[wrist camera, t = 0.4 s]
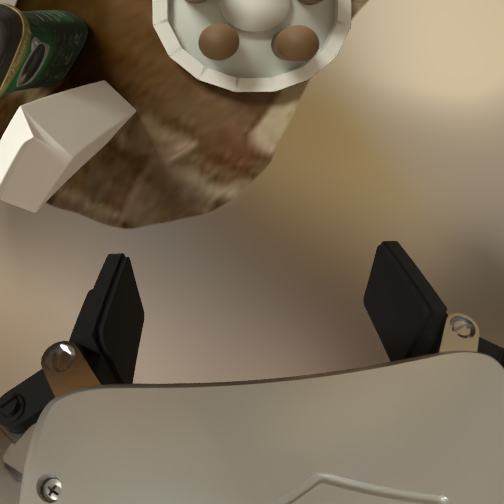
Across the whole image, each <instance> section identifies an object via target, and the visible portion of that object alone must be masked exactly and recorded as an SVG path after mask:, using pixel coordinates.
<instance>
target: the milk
mask: <svg viewBox="0 0 504 504" xmlns="http://www.w3.org/2000/svg"><path fill="white" fill-rule="evenodd" d="M135 112H136V109H135V108H133V107H132V106H131V105H130V104H129V103H128V102H127V101H126V100H125V99H124V98H123V97H122V96H121V95H120V94H119V93H118V92H117V91H116V90H115V89H114V88H112V87H111V86H110V85H109V84H108V83H107V82H106V81H105V80H103V81H99V82H95V83H91V84H87V85H84V86H80V87H76V88H73V89H69V90H66V91H63V92H59V93H56V94H53V95H50V96H47V97H44V98H41V99H38V100H35V101H32V102H30V103H27V104H24V105H21V106H20V107H19V109H18V110H17V112H16V113H15V115H14V117H13V118H12V120H11V122H10V124H9V125H8V127H7V129H6V131H5V133H4V134H3V136H2V138H1V140H0V200H2V201H4V202H7V203H10V204H12V205H15V206H18V207H20V208H23V209H26V210H29V211H31V212H34V213H35V212H36V211H38V210H39V209H40V208H41V207H42V205H43V204H44V203H45V202H46V201H47V200H48V199H49V198H50V197H51V196H52V195H53V194H54V193H55V192H56V191H57V190H58V189H59V188H60V187H61V186H62V185H63V184H64V183H65V182H66V181H67V180H68V179H69V178H70V177H71V176H72V175H73V174H74V173H75V172H76V171H77V170H78V169H79V168H81V167H82V166H83V165H84V164H85V163H86V162H87V161H88V160H89V159H90V158H91V157H93V156H94V155H95V154H96V153H97V152H98V151H99V150H100V149H102V148H103V147H104V146H105V145H106V144H107V143H108V142H109V141H110V140H111V139H112V137H113V136H114V135H115V134H116V133H117V132H118V131H119V130H120V128H121V127H122V126H123V125H124V124H125V123H126V122H127V121H128V120H129V119H130V118H131V117H132V116H133V114H134V113H135Z"/></svg>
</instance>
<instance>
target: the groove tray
mask: <svg viewBox="0 0 504 504" xmlns="http://www.w3.org/2000/svg"><path fill="white" fill-rule="evenodd" d="M213 24H226V25H229V26H230V27H232V28H233V29H234V30H235V31H236V32H237V34H238V36H239V47H238V49H237V51H236V52H235V53H234V55H232V56H231V57H229V58H227V59H225V60H221V61H216V60H212V59H209V58H207V57H206V56H204V55H203V54H202V52H201V51H200V49H199V45H198V41H199V37H200V35H201V33H202V31H203V30H204V29H206V28H207V27H209V26H211V25H213ZM294 25H303V26H306V27H309V28H310V29H312V30H313V31H314V32H315V33H316V35H317V36H318V39H319V49H318V52H317V53H316V55H315V56H314V57H312V58H311V59H309V60H306V61H287V60H282V59H280V58H278V57H277V56H276V55H275V54H274V53H273V51H272V48H271V41H272V38H273V37H274V35H275V34H277V33H278V32H280V31H282V30H284V29H287V28H289V27H291V26H294ZM153 26H154V28H155V30H156V32H157V34H158V36H159V38H160V40H161V42H162V44H163V45H164V47H165V49H166V51H167V53H168V55H169V56H170V57H171V58H172V59H173V60H174V61H176V62H177V63H178V64H179V65H181V66H182V67H183V68H184V69H186V70H187V71H188V72H189V73H190V74H192V75H193V76H194V77H195V78H197V79H199V80H200V81H204V82H207V83H210V84H213V85H216V86H219V87H222V88H225V89H228V90H231V91H233V92H235V91H236V92H274V91H278V90H281V89H283V88H286V87H289V86H292V85H295V84H297V83H300V82H303V81H306V80H309V79H311V78H312V77H313V76H314V75H315V74H317V73H318V72H319V71H320V70H321V69H322V68H323V67H325V66H326V65H327V64H328V63H329V62H330V61H332V60H333V59H334V58H335V57H336V56H337V55H338V53H339V50H340V48H341V46H342V44H343V42H344V40H345V38H346V36H347V34H348V32H349V30H350V28H351V27H350V26H351V0H324V1H322V2H320V3H318V4H315V5H306V4H303V3H301V2H299V1H298V0H207V1H205V2H202V3H198V4H193V3H189V2H187V1H185V0H153Z"/></svg>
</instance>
